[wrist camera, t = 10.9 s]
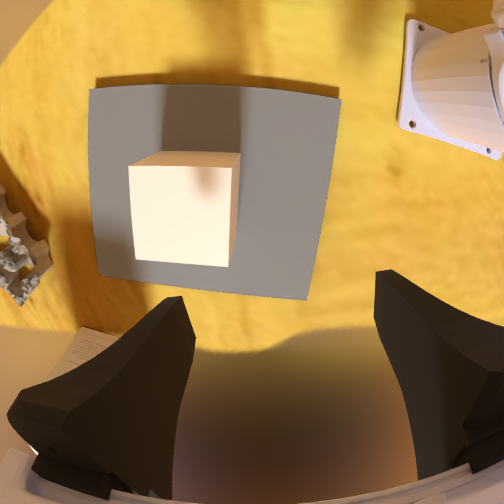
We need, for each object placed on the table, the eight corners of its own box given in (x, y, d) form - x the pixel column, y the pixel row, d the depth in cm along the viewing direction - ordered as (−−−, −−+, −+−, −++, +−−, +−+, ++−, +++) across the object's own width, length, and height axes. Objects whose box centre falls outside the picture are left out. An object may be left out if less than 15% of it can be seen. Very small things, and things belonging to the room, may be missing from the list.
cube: (240, 153, 18) (231, 168, 14) (237, 229, 20) (228, 266, 16) (160, 150, 18) (128, 165, 14) (163, 225, 20) (135, 259, 16)
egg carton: (-25, 218, 22) (-51, 233, 18) (-1, 168, 20) (-32, 181, 16) (32, 296, 25) (10, 319, 22) (64, 258, 23) (38, 282, 20)
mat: (338, 99, 17) (341, 99, 16) (305, 294, 23) (306, 300, 23) (95, 89, 17) (89, 89, 16) (103, 270, 23) (99, 275, 23)
